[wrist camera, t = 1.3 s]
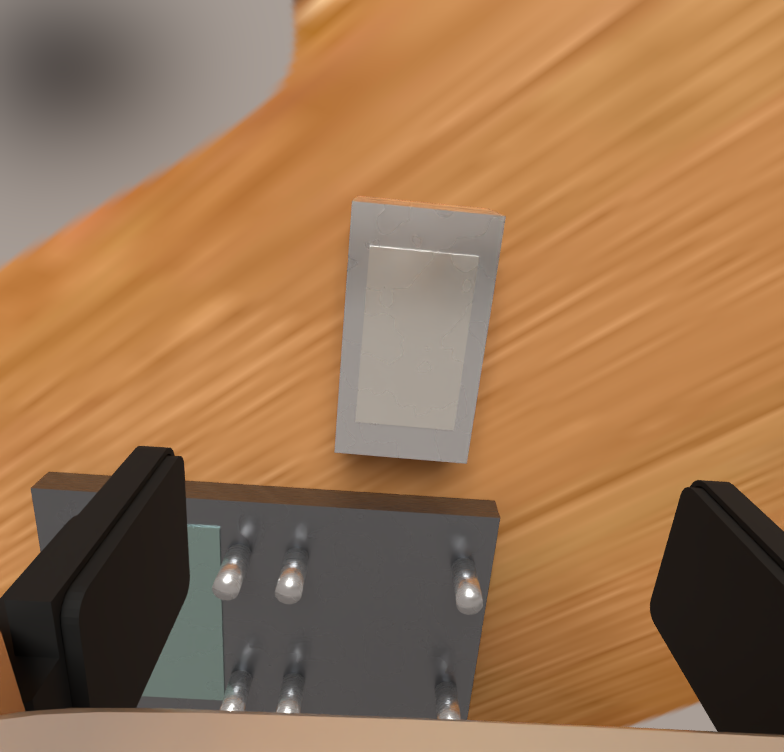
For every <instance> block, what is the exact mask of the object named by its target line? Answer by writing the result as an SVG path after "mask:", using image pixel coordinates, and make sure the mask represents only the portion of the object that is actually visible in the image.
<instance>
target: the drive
mask: <svg viewBox="0 0 784 752" xmlns="http://www.w3.org/2000/svg"><path fill="white" fill-rule="evenodd" d="M505 217H506V216H504V215H502V214H499V213H497V212H495V211H493V210H490V209H486V208H476V207H466V206H456V205H446V204H436V203H426V202H416V201H406V200H396V199H386V198H376V197H366V196H357V197H356V198H355V199H354V200H353V201H352V211H351V225H350V239H349V254H348V268H347V282H346V297H345V311H344V325H343V340H342V354H341V368H340V382H339V397H338V411H337V425H336V440H335V453H347V454H359V455H371V456H383V457H395V458H406V459H418V460H430V461H442V462H454V463H465V464H467V458H468V452H469V446H470V439H471V433H472V427H473V420H474V414H475V408H476V401H477V395H478V388H479V382H480V376H481V369H482V363H483V357H484V350H485V344H486V338H487V331H488V325H489V319H490V312H491V306H492V300H493V293H494V287H495V281H496V274H497V268H498V261H499V255H500V249H501V242H502V236H503V230H504V223H505Z"/></svg>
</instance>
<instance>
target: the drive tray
mask: <svg viewBox="0 0 784 752" xmlns="http://www.w3.org/2000/svg"><path fill="white" fill-rule="evenodd" d="M110 477H111V476H103V475H88V474H73V473H57V472H48V473H47V474H46V475H45V476H43V477H42V478H41V479H40V480H39V481H38V482H37V483H36V484H35V485H34V486H32V487H31V493H32V499H33V506H34V512H35V518H36V525H37V531H38V538H39V544H40V551H42V550H43V549H44V548H45V547H46V546H47V545H48V543H49V542H50V541H51V540H52V539H53V538H54V537H55V535H56V534H57V533H58V532H59V531H60V530H61V529H62V528H63V526H64V525H65V524H66V523H67V522H68V521H69V520H70V519H71V518H72V517H74V516H76V515H78V514H79V513H80V512H81V511H82V510H83V508H84V507H85V506H86V505H87V504H88V503H89V501H90V500H91V499H92V498H93V497H94V496H95V495H96V493H97V492H98V491H99V490H100V489H101V488H102V486H103V485H104V484H105V483H106V482H107V481H108V480H109V478H110ZM185 491H186V510H187V529H188V548H189V567H190V583H189V590H188V594H187V597H186V599H185V601H184V604H183V606H182V608H181V610H180V613H179V615H178V617H177V619H176V621H175V624H174V626H173V628H172V630H171V632H170V635H169V637H168V639H167V641H166V643H165V646H164V648H163V650H162V652H161V654H160V657H159V659H158V661H157V663H156V665H155V668H154V670H153V672H152V674H151V676H150V679H149V681H148V683H147V685H146V688H145V690H144V692H143V694H142V696H141V699H140V701H139V703H138V705H137V707H136V708H174V709H199V710H225V711H251V712H277V713H303V714H329V715H356V716H382V717H408V718H432V719H455V720H467V717H468V711H469V704H470V698H471V692H472V686H473V680H474V674H475V668H476V662H477V656H478V650H479V644H480V637H481V631H482V625H483V619H484V613H485V607H486V601H487V595H488V589H489V583H490V577H491V570H492V564H493V558H494V552H495V546H496V540H497V534H498V528H499V522H500V516H499V513H498V510H497V506H496V503H495V501H490V500H475V499H459V498H444V497H428V496H413V495H397V494H382V493H366V492H351V491H335V490H320V489H305V488H289V487H274V486H258V485H243V484H227V483H212V482H196V481H185Z"/></svg>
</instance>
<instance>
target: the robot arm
mask: <svg viewBox="0 0 784 752" xmlns="http://www.w3.org/2000/svg"><path fill="white" fill-rule="evenodd" d="M189 583H190V567H189V548H188V529H187V510H186V491H185V471H184V460H183V458H182V457H181V456H174V452H173V450H172V449H171V448H165V447H149V446H138V447H137V448H135V450H134V451H133V452H132V453H131V454H130V455H129V457H128V458H127V459H126V460H125V461H124V462H123V463H122V465H121V466H120V467H119V468H118V469H117V470H116V471H115V473H114V474H113V475H112V476H111V477H110V478H109V480H108V481H107V482H106V483H105V484H104V485H103V486H102V488H101V489H100V490H99V491H98V492H97V493H96V495H95V496H94V497H93V498H92V499H91V500H90V501H89V503H88V504H87V505H86V506H85V507H84V508H83V510H82V511H81V512H80V513H79V514H78V515H76V516H74V517H72V518H71V519H70V520H69V521H68V522H67V523H66V524H65V525H64V526H63V528H62V529H61V530H60V531H59V532H58V533H57V534H56V535H55V537H54V538H53V539H52V540H51V541H50V542H49V543H48V545H47V546H46V547H45V548H44V549H43V550H42V551H41V553H40V554H39V555H38V556H37V557H36V558H35V559H34V560H33V562H32V563H31V564H30V565H29V566H28V567H27V568H26V570H25V571H24V572H23V573H22V574H21V575H20V576H19V578H18V579H17V580H16V581H15V582H14V583H13V584H12V586H11V587H10V588H9V589H8V590H7V591H6V592H5V593H4V595H3V596H2V597H1V598H0V752H784V531H783V530H782V529H780V528H779V527H778V526H777V525H776V524H775V523H774V522H773V521H772V520H771V519H770V518H769V517H767V516H766V515H765V514H764V513H763V512H762V511H761V510H760V509H759V508H758V507H757V506H756V505H754V504H753V503H752V502H751V501H750V500H749V499H748V498H747V497H746V496H745V495H744V494H743V493H741V492H740V491H739V490H738V489H737V488H736V487H735V486H734V485H733V484H731V483H729V482H719V481H702V480H697V481H695V482H693V483H692V485H691V486H690V487H687V488H684V490H683V491H682V493H681V495H680V499H679V503H678V506H677V510H676V513H675V517H674V520H673V524H672V527H671V531H670V534H669V538H668V541H667V545H666V548H665V552H664V555H663V559H662V562H661V566H660V569H659V573H658V576H657V580H656V583H655V587H654V590H653V594H652V597H651V602H650V612H651V617H652V620H653V622H654V624H655V626H656V627H657V629H658V631H659V633H660V634H661V636H662V638H663V639H664V641H665V643H666V644H667V646H668V648H669V650H670V651H671V653H672V655H673V656H674V658H675V660H676V662H677V663H678V665H679V667H680V668H681V670H682V672H683V673H684V675H685V677H686V679H687V680H688V682H689V684H690V685H691V687H692V689H693V691H694V692H695V694H696V696H697V697H698V699H699V701H700V702H701V704H702V706H703V707H704V709H705V711H706V713H707V714H708V716H709V718H710V719H711V721H712V723H713V724H714V726H715V728H716V730H717V731H718V732H713V731H692V730H673V729H652V728H633V727H612V726H590V725H568V724H546V723H524V722H501V721H478V720H455V719H432V718H408V717H382V716H356V715H329V714H303V713H277V712H251V711H225V710H199V709H174V708H136V707H137V705H138V703H139V701H140V699H141V696H142V694H143V692H144V690H145V688H146V685H147V683H148V681H149V679H150V676H151V674H152V672H153V670H154V668H155V665H156V663H157V661H158V659H159V657H160V654H161V652H162V650H163V648H164V646H165V643H166V641H167V639H168V637H169V635H170V632H171V630H172V628H173V626H174V624H175V621H176V619H177V617H178V615H179V613H180V610H181V608H182V606H183V604H184V601H185V599H186V597H187V594H188V590H189Z"/></svg>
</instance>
